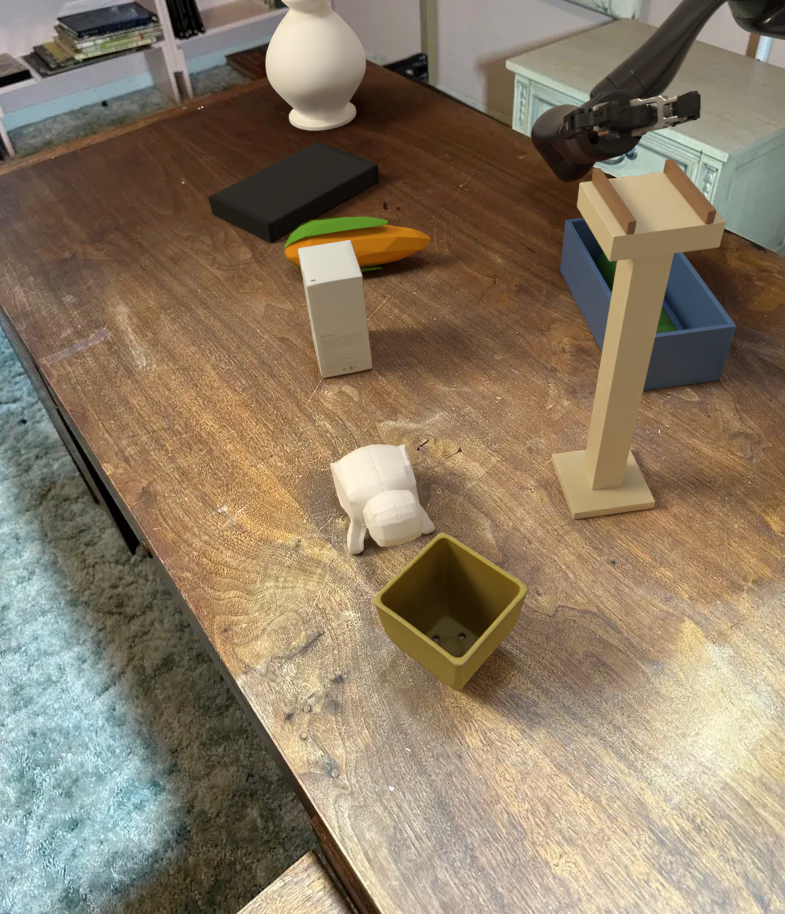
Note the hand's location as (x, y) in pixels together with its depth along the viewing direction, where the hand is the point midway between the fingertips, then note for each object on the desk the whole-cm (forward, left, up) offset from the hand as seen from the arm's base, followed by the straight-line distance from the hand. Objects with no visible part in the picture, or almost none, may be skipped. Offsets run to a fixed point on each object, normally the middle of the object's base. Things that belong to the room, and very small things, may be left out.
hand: (655, 106), depth 80 cm
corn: (+32, -16, -24) cm, 43 cm away
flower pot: (+30, +45, -24) cm, 60 cm away
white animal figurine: (+34, +30, -24) cm, 52 cm away
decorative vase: (+34, -68, -24) cm, 80 cm away
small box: (+36, +3, -24) cm, 44 cm away
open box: (0, +4, -24) cm, 25 cm away
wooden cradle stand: (+12, +28, -24) cm, 39 cm away
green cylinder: (0, +4, -24) cm, 24 cm away
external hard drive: (+40, -38, -24) cm, 60 cm away
